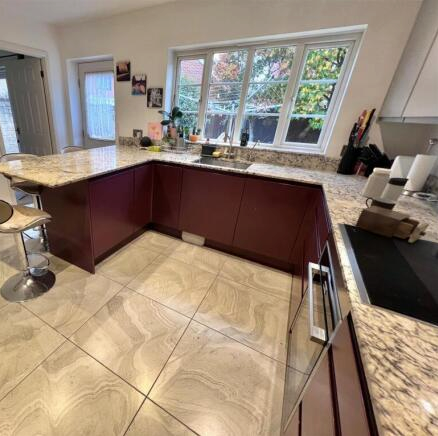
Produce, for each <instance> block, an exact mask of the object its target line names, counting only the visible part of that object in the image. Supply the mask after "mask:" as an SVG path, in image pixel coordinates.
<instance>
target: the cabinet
mask: <svg viewBox="0 0 438 436" xmlns="http://www.w3.org/2000/svg"><path fill="white" fill-rule="evenodd" d="M370 206H371V205H370ZM370 206H369V207H365V208H363V209H362V210H361V212H360V215H359V217H358V219H357V221H356V223H355V225H354V227H357V228H359V229H362V230H365V231H368V232H371V233H374V234H376V233H377V235H379V234H380V235H379V236H382V235H383V237H385V238H388V239H391V238H394V237H395V236H394V235H393V233H394V231H395V230H396V228H397V226H398V224H399V222H400V221H402V220H404V219H406V218H409V219H411V215H410V214H407V213H403V212H399V211H396V210H394V209H393V210H389V209H385V208H382V207H378V206H371V207H370Z"/></svg>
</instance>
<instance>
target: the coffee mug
mask: <svg viewBox="0 0 438 436" xmlns="http://www.w3.org/2000/svg"><path fill="white" fill-rule="evenodd" d="M369 200H371V203H370V205H369V204H368V201H369ZM397 203H398V201H397V202H395V201H393V200H389V199H385V198H379V197H374V198H368V197H367V198H366V200H365V205H366V208H368V207H371V206H378V207H382V208H385V209H389V210H392V209H393V210H394V208H395V206H396V205H397ZM393 207H394V208H393Z"/></svg>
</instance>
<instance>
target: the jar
mask: <svg viewBox="0 0 438 436" xmlns="http://www.w3.org/2000/svg"><path fill="white" fill-rule="evenodd" d="M392 173H393V170H392V169H390V168H382V167H374V168H373V171H372V172H371V174H369V176H368V179H367V180H366V182H365V185H364V187H363V189H362V191H361V195H362V196H363V197H365V198H367V199H368V198H372V199H373V198H374V197H379V198H381V196H382V194H383V192H384V190H385V188H386V186H387V184H388V182H389V180H390V178H391V177H390V176H391V174H392Z"/></svg>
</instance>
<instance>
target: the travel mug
mask: <svg viewBox="0 0 438 436" xmlns="http://www.w3.org/2000/svg"><path fill="white" fill-rule="evenodd" d="M409 180H410V179H409V178H407V177H390V179H389V181H388V184H387V186H386V188H385V190H384V192H383V194H382V196H381V198H385V199H389V200H393V201H395V202H397V203H398V201H399V199H400V197H401V195H402V193H403V192H404V189H405V187H406V186H407V185H406V184H407V183H408V181H409ZM394 208H395V206H394V207H393V209H392V210H393V211H394Z"/></svg>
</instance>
